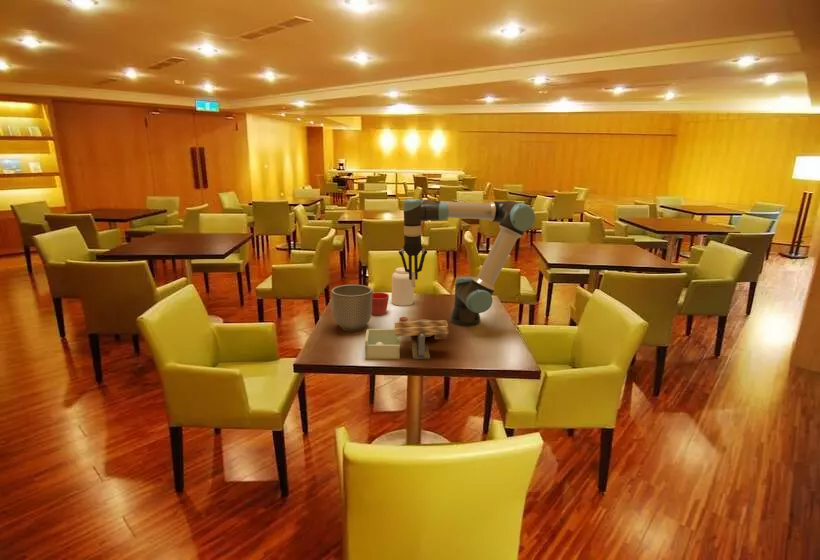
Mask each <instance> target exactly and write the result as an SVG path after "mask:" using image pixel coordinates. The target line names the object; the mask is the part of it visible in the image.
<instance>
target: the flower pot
mask: <svg viewBox="0 0 820 560" xmlns="http://www.w3.org/2000/svg"><path fill="white" fill-rule="evenodd" d="M389 298H390V295H389V294H388V293H385V292H373V302H372V313H371V315H374V316H383V315H385V314H386V313H387V308H388V304H389Z"/></svg>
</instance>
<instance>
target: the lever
mask: <svg viewBox="0 0 820 560" xmlns="http://www.w3.org/2000/svg"><path fill="white" fill-rule="evenodd" d="M415 321H416V320H415ZM394 329H395V336H399V337H404V336H405V337H406V336H417V335H419V332H425V335H432V336H433V337H434V340H442V339H443V340H445V339H446V340H448V335H449V324H448V321H447V320H444V319H443V320H432V321H416V322H414V321H409V317H407V316H401V317H398V321H397V322H396V321H395V322H394Z"/></svg>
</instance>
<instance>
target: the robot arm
mask: <svg viewBox="0 0 820 560" xmlns="http://www.w3.org/2000/svg"><path fill="white" fill-rule="evenodd" d="M403 201H404V202H403V209H402V210H403V234H404V237H403V239H404V240H403V242H404V243H403V247H402V249H399V250H398V254H399V256H400V258H401V261H402V264H403V265H402V266H403V267H404V269H405V272H408V273H409V280H411V286H412V287H414V288H416V280H418V278H419V277H418V275H419V272H422V271H423V266H424V261H425V259H426V255H427V253H428V249H425V248H423V245H422V235H421V234H422V222H426V221H428V222H429V221H431V222H432V221H434V222H435V221H440V222H441V221H446V220H448V218H451V219H452V218H453V219H454V218H455V219H470V220H471V219H473V220H487V221H489V222H491V223H494V222H495V223H499V225H498V227H499V229H500V230H499V232H498V234H497V236H496V238H495V240H494V242H493V244H492V245H491V248H490V250H489V252H488V254H487V256H486V258H485V260H484V262H483V264H482V266H481V268H480V270H479V272H478V274H477V275H476V276H459V277H456V278H455V283H454V302H453V303H454V304H453V308H452V312H451V313H450V317H449V320H450V322H451V323H452V324H453V325H457V326H461V327H475V326H478V325H479V324H480V323H481V316H480V314H481V313H482V314H483V313H485V312H487V311H488V310H489V309H490V308H491V307H492V304H493V294H494V292H495V291H496V290H495V289H496V288H495V282H496V281H497V279H498V277H499V275H500V273H501V271H502V269H503V268H504V266H505V264H506V261H507V260H508V257H509V255H510V254H511V252H512V250H513V248H514V246H515V244H516V242H517V240H518V239H520V238H522V237H523V236H524V235H525V232H526V231H528V230H530V229H531V228H532V227H533V226H534V224H535V222H536V214H535V211H534V209H533V208H532V207H531V206H530V205H528V204H526V203H524V202H518V201H514V200H507V201H506V200H505V201H502V200H501V201H490V202H489V203H487V202H467V201H450V200H449V201H447V200H430V199H422V200H421V199H418V198H409V199H408V198H407V199H405V200H403ZM405 253H406V255H407V256H408V267H407V262H406V259H405V255H404V254H405ZM420 253H421V256H420V260H419V262H418V257H419V256H418V255H420ZM413 259H414V261H412V260H413ZM413 262H414V263H413ZM418 263H419V264H418ZM412 264H413V265H412ZM418 265H419V266H418ZM412 266H414V271H413V267H412ZM407 268H409V269H407Z"/></svg>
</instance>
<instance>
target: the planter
mask: <svg viewBox="0 0 820 560" xmlns="http://www.w3.org/2000/svg"><path fill="white" fill-rule="evenodd" d="M373 293H374V291H373V288H372V287H370V286H367V285H363V284H344V285H343V284H342V285H337V286H334V287H333V288H332V289H331V290H330V299H331V310H332V315H333V319H334V322H335V323H336V324H337V325H338V326H339V327H340V328H341V330H343V331H344V332H349V333H351V332H352V333H353V332H354V333H355V332H359V331H362V330H363V329H364V328H365V326H367V324H368V323H369V322H370V319H371V318H372V302H373Z"/></svg>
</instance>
